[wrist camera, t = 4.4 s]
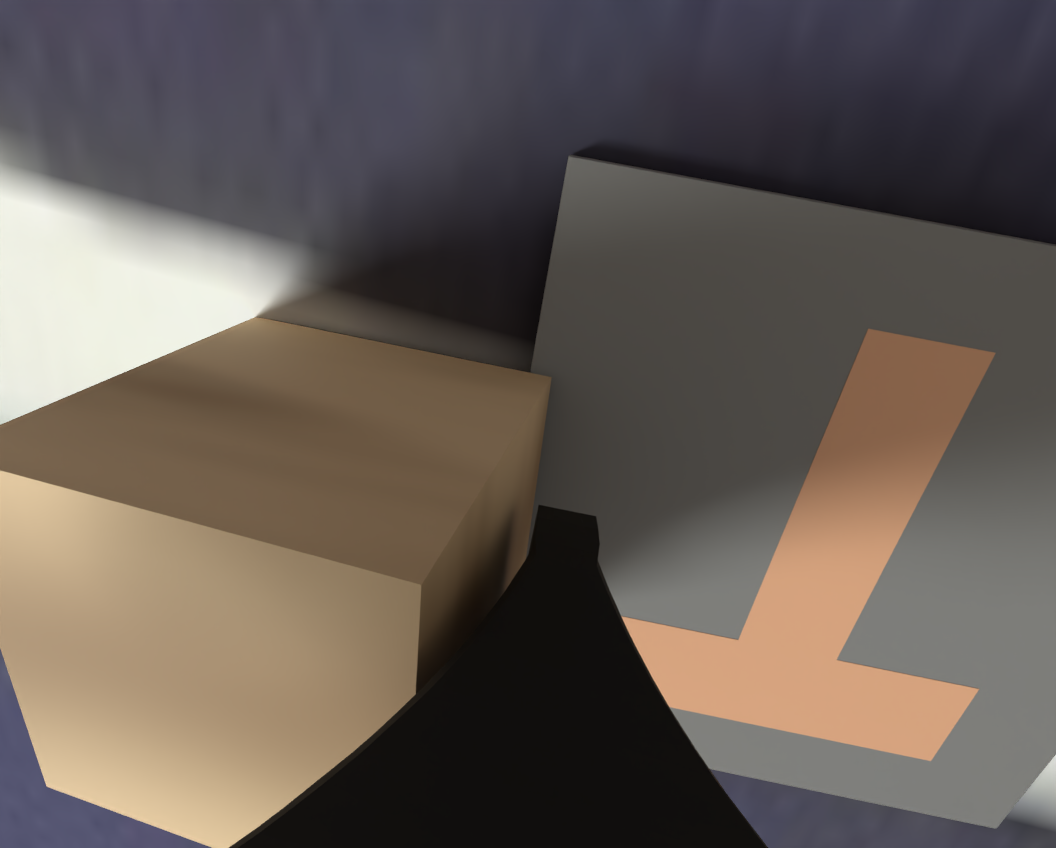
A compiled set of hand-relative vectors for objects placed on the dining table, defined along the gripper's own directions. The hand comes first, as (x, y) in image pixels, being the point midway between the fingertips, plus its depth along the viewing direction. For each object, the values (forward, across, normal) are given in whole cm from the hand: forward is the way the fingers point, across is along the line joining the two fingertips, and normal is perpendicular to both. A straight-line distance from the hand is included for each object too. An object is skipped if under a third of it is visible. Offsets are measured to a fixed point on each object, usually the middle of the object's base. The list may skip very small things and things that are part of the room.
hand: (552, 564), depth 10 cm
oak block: (+2, +3, 0) cm, 3 cm away
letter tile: (+2, -5, 0) cm, 5 cm away
